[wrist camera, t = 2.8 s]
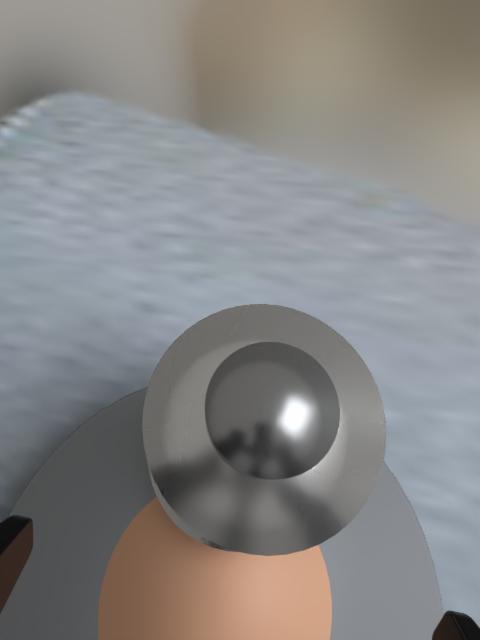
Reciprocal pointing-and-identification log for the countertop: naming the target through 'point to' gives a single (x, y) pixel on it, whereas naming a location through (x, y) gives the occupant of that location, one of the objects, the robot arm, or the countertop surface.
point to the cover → (263, 431)
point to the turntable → (201, 560)
